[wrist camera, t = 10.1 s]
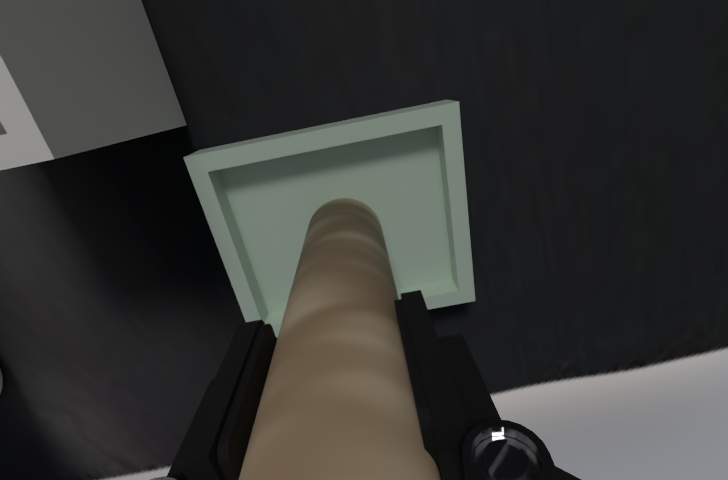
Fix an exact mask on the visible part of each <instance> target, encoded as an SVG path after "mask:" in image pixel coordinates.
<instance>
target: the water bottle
mask: <svg viewBox="0 0 728 480" xmlns="http://www.w3.org/2000/svg"><path fill="white" fill-rule="evenodd" d="M2 386H3V378H2V372H1V369H0V394H1V391H2Z"/></svg>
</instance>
